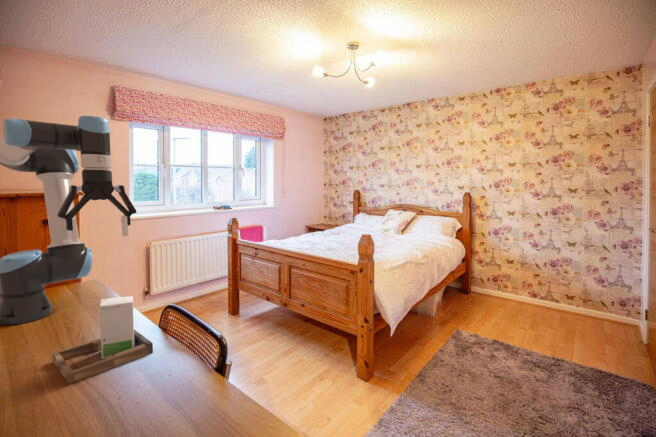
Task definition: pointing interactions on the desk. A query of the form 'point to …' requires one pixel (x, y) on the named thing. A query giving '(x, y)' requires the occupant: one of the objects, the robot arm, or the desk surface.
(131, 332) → the skincare box
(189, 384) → the desk surface
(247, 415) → the desk surface
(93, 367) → the brown wooden shallow tray
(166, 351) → the desk surface
